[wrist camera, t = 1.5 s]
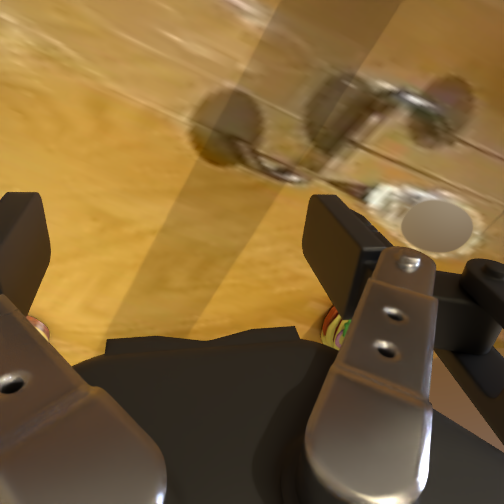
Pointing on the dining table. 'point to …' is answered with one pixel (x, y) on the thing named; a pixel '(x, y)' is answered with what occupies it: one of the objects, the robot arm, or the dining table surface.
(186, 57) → the dining table surface
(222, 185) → the dining table surface
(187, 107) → the dining table surface
